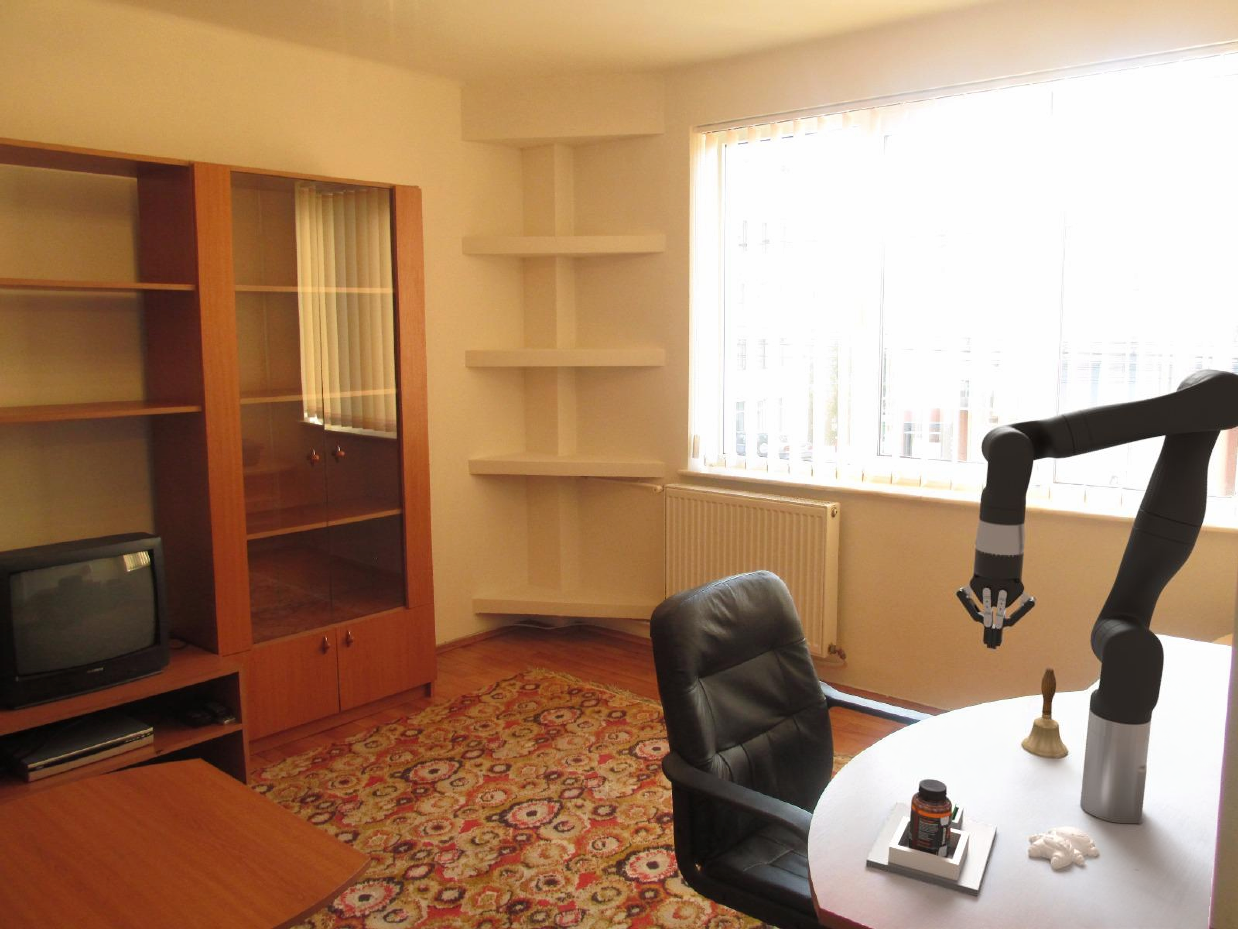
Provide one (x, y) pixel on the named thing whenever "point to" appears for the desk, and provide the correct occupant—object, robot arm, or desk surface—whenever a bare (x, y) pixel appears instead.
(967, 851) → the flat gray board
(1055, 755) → the hand bell
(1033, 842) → the astronaut figurine
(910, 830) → the supplement bottle
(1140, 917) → the desk surface
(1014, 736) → the desk surface
